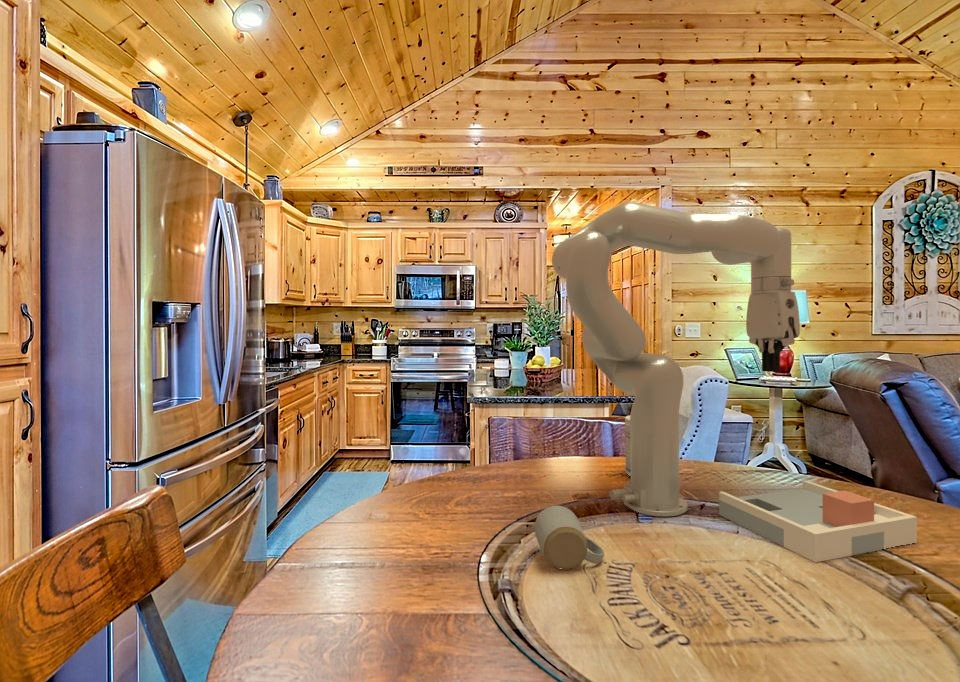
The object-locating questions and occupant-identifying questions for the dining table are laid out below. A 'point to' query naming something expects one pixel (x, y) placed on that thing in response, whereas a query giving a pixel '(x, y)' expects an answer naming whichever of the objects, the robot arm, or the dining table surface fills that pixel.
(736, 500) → the board
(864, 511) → the block
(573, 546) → the ceramic mug
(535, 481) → the dining table surface
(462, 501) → the dining table surface
